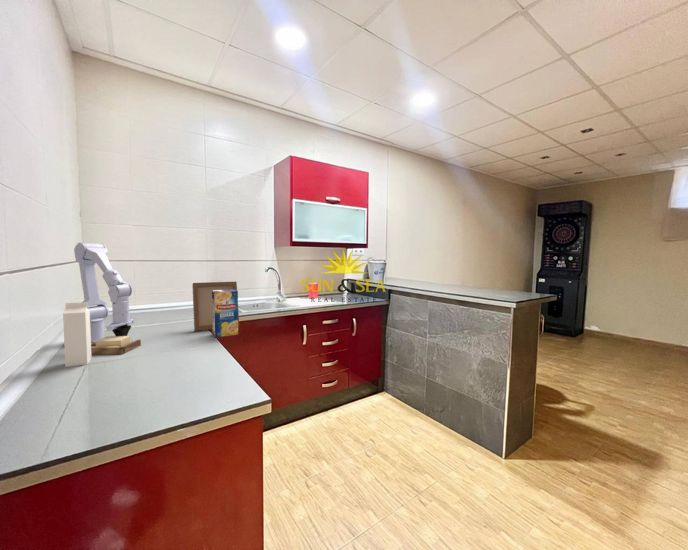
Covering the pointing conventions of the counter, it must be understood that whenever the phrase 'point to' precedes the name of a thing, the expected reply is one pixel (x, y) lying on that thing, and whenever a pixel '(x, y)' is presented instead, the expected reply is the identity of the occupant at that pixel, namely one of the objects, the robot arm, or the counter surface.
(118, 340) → the carton
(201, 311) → the photo frame
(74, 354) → the milk
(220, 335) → the blue cardboard box
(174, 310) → the counter surface
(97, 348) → the display stand
